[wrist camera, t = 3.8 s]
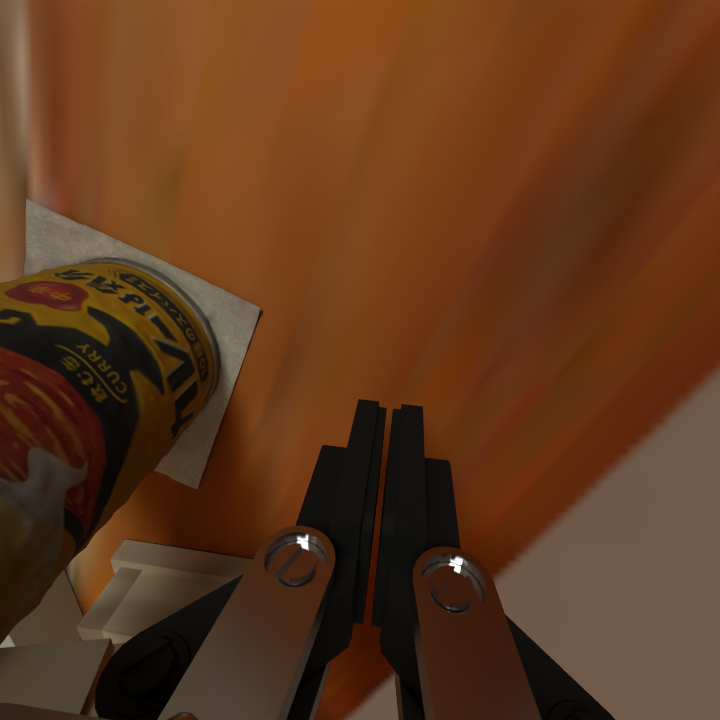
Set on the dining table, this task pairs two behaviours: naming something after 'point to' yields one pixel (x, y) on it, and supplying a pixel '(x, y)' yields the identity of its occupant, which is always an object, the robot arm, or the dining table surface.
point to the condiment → (100, 391)
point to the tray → (49, 618)
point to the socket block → (154, 587)
